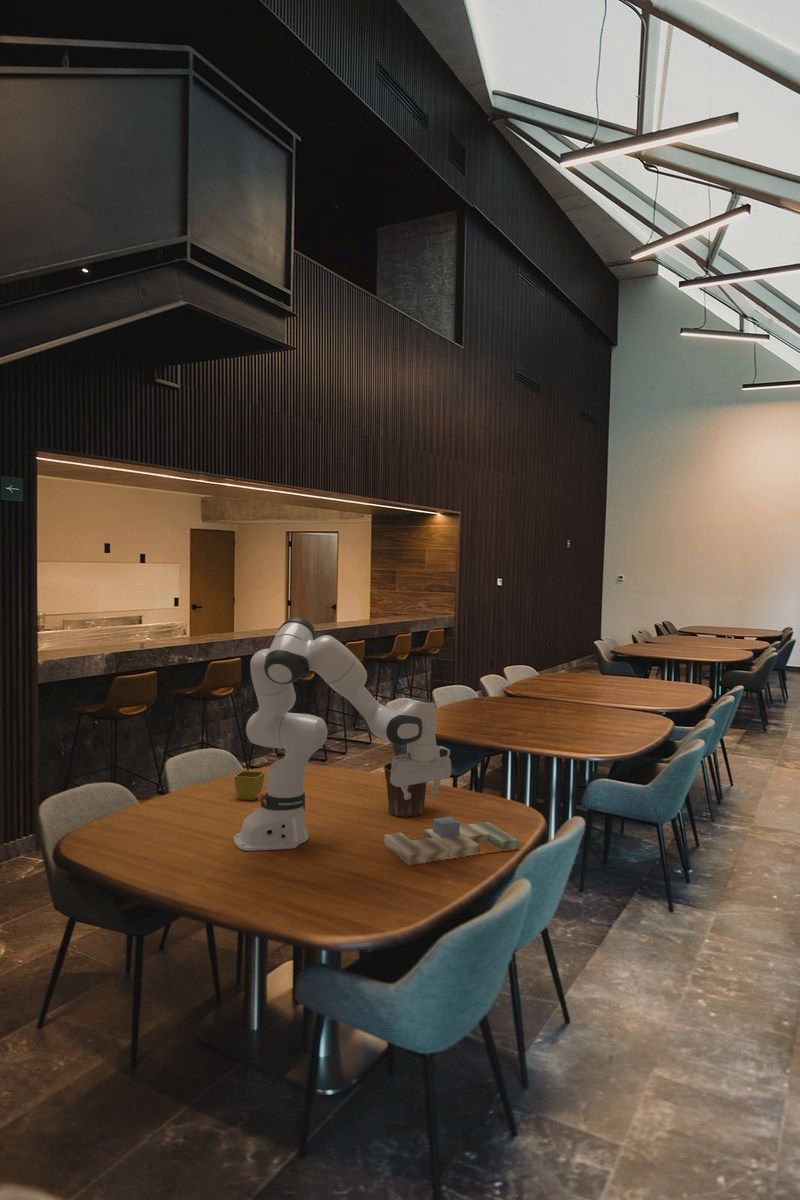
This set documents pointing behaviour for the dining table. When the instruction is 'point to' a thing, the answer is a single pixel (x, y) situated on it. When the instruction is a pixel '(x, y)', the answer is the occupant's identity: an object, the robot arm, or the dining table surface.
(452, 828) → the slate block
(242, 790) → the flower pot
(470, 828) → the wooden cutout board
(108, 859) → the dining table surface
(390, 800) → the plant pot
